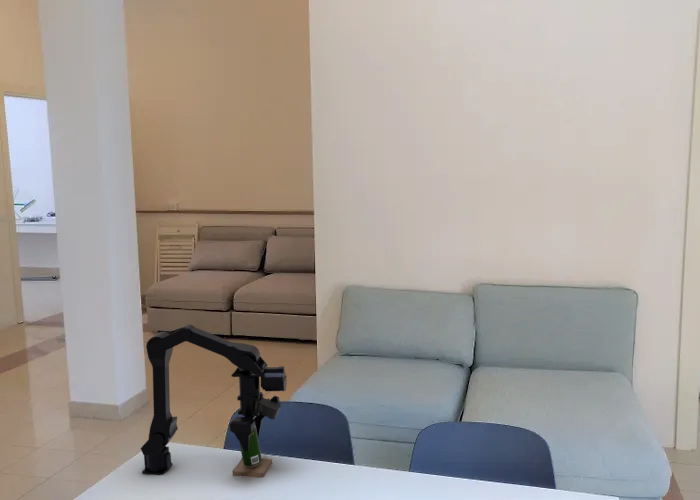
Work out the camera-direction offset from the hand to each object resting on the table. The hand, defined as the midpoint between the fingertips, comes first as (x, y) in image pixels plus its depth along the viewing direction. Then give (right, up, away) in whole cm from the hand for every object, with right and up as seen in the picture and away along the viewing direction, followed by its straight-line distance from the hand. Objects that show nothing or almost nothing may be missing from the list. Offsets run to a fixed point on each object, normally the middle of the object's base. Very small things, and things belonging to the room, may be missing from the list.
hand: (251, 444), depth 183 cm
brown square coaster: (0, -8, +1) cm, 8 cm away
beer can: (0, -6, +1) cm, 6 cm away
